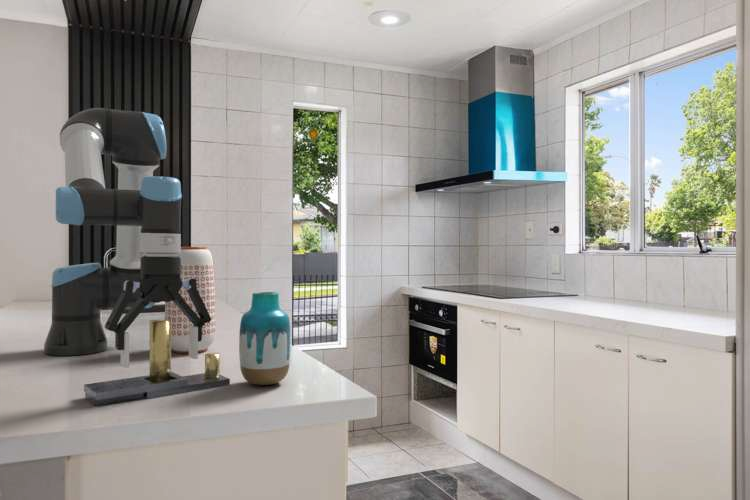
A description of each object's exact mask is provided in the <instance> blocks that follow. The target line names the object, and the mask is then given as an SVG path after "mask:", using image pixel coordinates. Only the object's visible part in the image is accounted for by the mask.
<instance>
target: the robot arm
mask: <svg viewBox="0 0 750 500" xmlns="http://www.w3.org/2000/svg"><path fill="white" fill-rule="evenodd" d="M59 145H60V148H61V150H62V151H63V152H64V168H65V169H64V171H65V173H64V174H65V186H60V187H57V188H56V190H55V220H56V221H57V223H59V224H62V225H74V226H116V247H115V248H116V250H115V251H116V252H115V256H114V257H113V258H111V260H109V267H102V265H101V263H100V262H90V263H83V264H80V263H79V264H73V265H67V266H60V267H58V268H56V269H54V271H53V272H52V275H51V278H52V279H51V285H50V287H51V290H52V291H51V325H50V328H49V331H48V333H47V336H46V338H45V342H44V345H43V353H44V354H45V355H47V356H49V355H50V356H59V357H60V356H81V355H82V356H84V355H89V354H96V353H101V352H104V351H106V350H108V339H107V336H106V333H105V330H108V331H110V332H114V334H115V339H114V341H115V343H114V344H115V349H116V350H117V351H120V367H122V368H125V369H128V368H129V369H130V333H129V332H127V330H128V329H129V327H130V326H131V325H132V324H133V322H134V321H135V320H136V318H137V317H138V316H139V315H140V314H141V313H142V311H143V310H144V309H149V308H153V306H155V304H156V303H157V304H159V303H161V302H164V303H165V302H170V301H173V302H174V303H175V304H176V305H177V306H178V307H179V308H180V310H181V311H182V312H183V313H184V314H185V315H186V316H187V318H188V319H189V320H190V321H191V322H192V323H193V324H194V326H193V325H192V326H189V353H188V358H190V359H193V360H196V359H197V360H198V359H199V353H198V342H199V341H201V340H202V327H203V326H204V324H205V323H207V322H210V321H211V317H210V315H209V313H208V311H207V309H206V307H205V305H204V303H203V301H202V299H201V297H200V294H199V292H198V290H197V285H196V280H195V279H192V278H187V279H186V280H181V278H180V274H181V258H180V257H178V254H179V253H180V252H181V247H182V246H181V245H182V237H181V236H182V234H181V233H182V229H181V228H182V225H181V223H182V222H181V218H182V216H181V215H182V198H183V194H182V188H181V187H182V185H181V181H180V179H178V178H175V177H173V176H172V177H171V176H154V171H155V170H157V168H159V167H160V160H163V159H164V160H165V159H166V158H167V157H166V156H167V138H166V131H165V126H164V121H163V120H162V118H161V117H160V116H159V115H158V114H153V113H149V112H144V111H133V110H121V109H110V108H106V107H105V108H103V107H93V108H87V109H85V110H82V111H79V112H78V113H75V114H73V116H71V117H70V118H68V119H67V121H65V123H64V124H63V125H62V127H61V130H60V132H59ZM102 155H107V156H112V161H111V162H112V164H113V165H115V167H116V168H117V169H118V173H117V177H118V178H117V188H106V183H105V175H104V168H103V160H102ZM182 286H184V288H185V289H186V290H187V292H188V294H189V296H190V298H191V300H192V302H193V304H194V306H195V308H196V310H197V312H198V315H199V317H200V318H199V317H198V316H197V314H196V313H195V312H194V311H193V310H192V309H191V308H190V306H189V305H188V304H187V303H186V302H185V301H184V299H183V297H182V296H181V295H180V294H179V293H178V292H179V290H180V289H181V287H182ZM125 310H128V311H127V312H126V314H125V315H124V312H125ZM102 311H111V312H110V315H109V317H108V319H107V321H106V322H105V324H104V327H103V324H102V322H101V321H102V320H101V312H102ZM122 315H124V316H123V317H122ZM104 329H105V330H104Z"/></svg>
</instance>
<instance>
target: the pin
mask: <svg viewBox="0 0 750 500" xmlns="http://www.w3.org/2000/svg"><path fill="white" fill-rule="evenodd" d="M171 372H172V349H171V320H168V319H165V318H163V319H152V320H149V375H150V382H152V383H153V382H160V381H166V380H171Z"/></svg>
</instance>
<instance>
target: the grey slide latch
mask: <svg viewBox="0 0 750 500" xmlns="http://www.w3.org/2000/svg"><path fill="white" fill-rule="evenodd" d="M220 355H221V354H220V353H219V352H208V353H205V354H204V373H197V374H189V375H183V376H182V375H180V374H179V373H176V372H174V371H171V380H166V381H160V382H153V383H152V382H150V374H149V375H143V376H142V375H141V376H135V377H129V378H119V379H113V380H107V381H100V382H93V383H86V384H83V391H84V393H85V395H84V397H85V400H86V401H88V402H89V403H90V404H92V405H93V406H95V407H96V406H100V405H101V406H102V405H108V404H113V403H120V402H125V401H126V402H127V401H130V400H131V401H132V400H137V399H144V398H145V399H152V398H153V399H154V398H159V397H163V396H170V395H175V394H176V395H177V394H182V393H189V392H195V391H200V390H206V389H212V388H218V387H224V386H229V385H231V384H230V383H231V379H230V378H229V377H226V376H224V375H222V374H221V373H220V369H221V361H220V360H221V359H220V358H221V356H220Z"/></svg>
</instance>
